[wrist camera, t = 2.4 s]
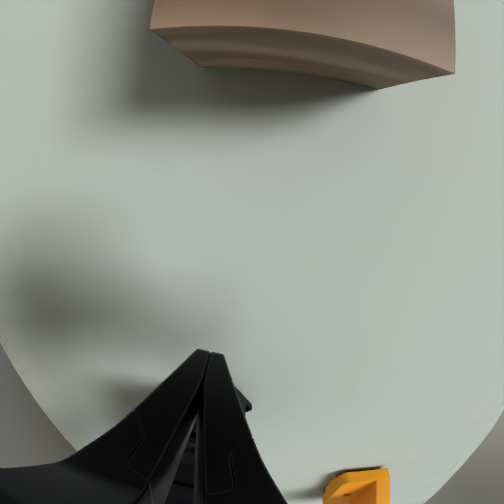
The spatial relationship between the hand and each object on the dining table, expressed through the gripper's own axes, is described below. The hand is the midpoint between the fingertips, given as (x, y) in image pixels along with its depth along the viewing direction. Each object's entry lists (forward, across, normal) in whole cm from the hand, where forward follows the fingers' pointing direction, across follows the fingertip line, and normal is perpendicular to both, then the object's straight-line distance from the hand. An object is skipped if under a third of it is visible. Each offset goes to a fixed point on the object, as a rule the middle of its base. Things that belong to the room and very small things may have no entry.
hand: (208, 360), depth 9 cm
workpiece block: (+12, 0, -18) cm, 22 cm away
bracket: (+12, -24, +36) cm, 45 cm away
